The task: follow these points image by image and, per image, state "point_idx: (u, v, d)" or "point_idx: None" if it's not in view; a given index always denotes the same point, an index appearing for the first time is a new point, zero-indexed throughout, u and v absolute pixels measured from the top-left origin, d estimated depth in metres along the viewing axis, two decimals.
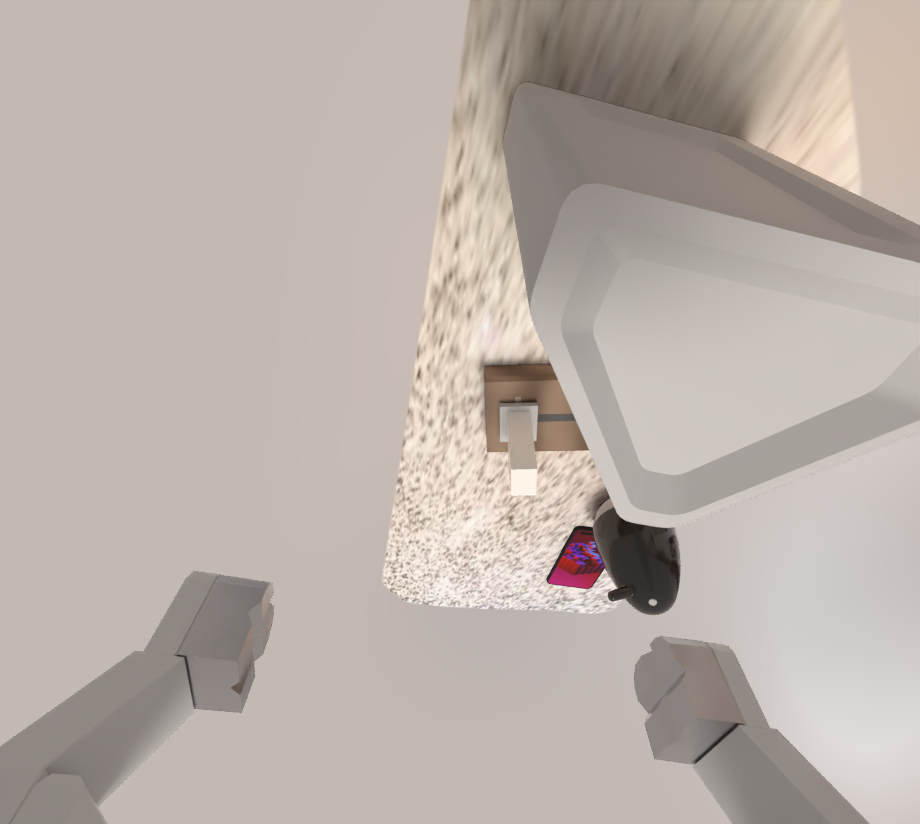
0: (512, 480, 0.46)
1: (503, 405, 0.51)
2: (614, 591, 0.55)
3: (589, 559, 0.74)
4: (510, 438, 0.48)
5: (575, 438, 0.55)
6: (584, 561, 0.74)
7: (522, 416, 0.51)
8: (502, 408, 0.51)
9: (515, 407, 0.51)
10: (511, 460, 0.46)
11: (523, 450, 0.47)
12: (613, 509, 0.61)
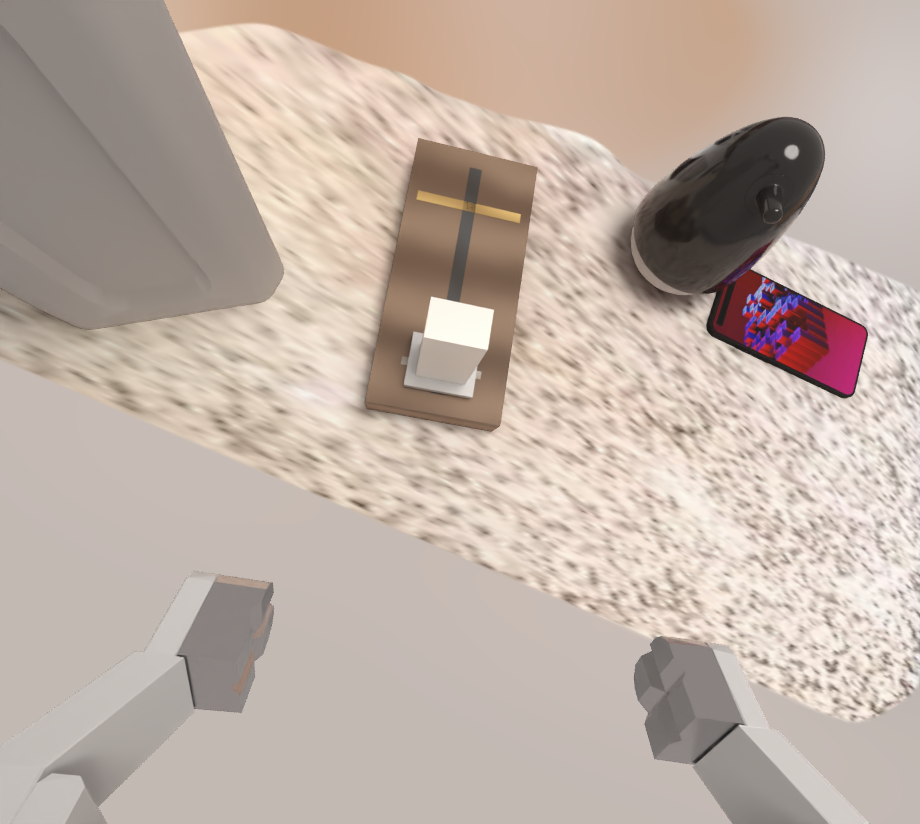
0: (450, 339, 0.27)
1: None
2: (761, 212, 0.30)
3: (787, 320, 0.44)
4: (419, 356, 0.31)
5: (495, 295, 0.38)
6: (792, 329, 0.44)
7: None
8: (407, 381, 0.35)
9: (409, 362, 0.35)
10: (422, 342, 0.28)
11: (424, 331, 0.29)
12: (643, 257, 0.39)
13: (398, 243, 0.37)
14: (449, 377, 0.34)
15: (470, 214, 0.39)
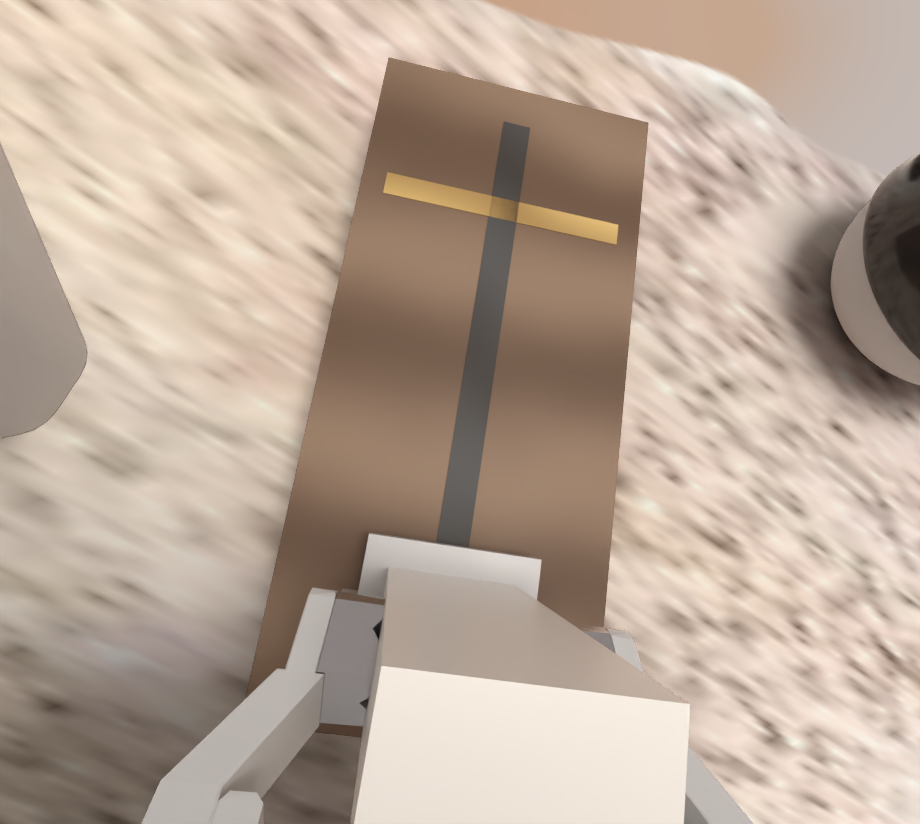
0: None
1: None
2: None
3: None
4: (364, 721, 0.09)
5: (568, 417, 0.16)
6: None
7: None
8: None
9: None
10: None
11: (371, 691, 0.08)
12: (896, 318, 0.17)
13: (338, 297, 0.16)
14: None
15: (506, 226, 0.17)
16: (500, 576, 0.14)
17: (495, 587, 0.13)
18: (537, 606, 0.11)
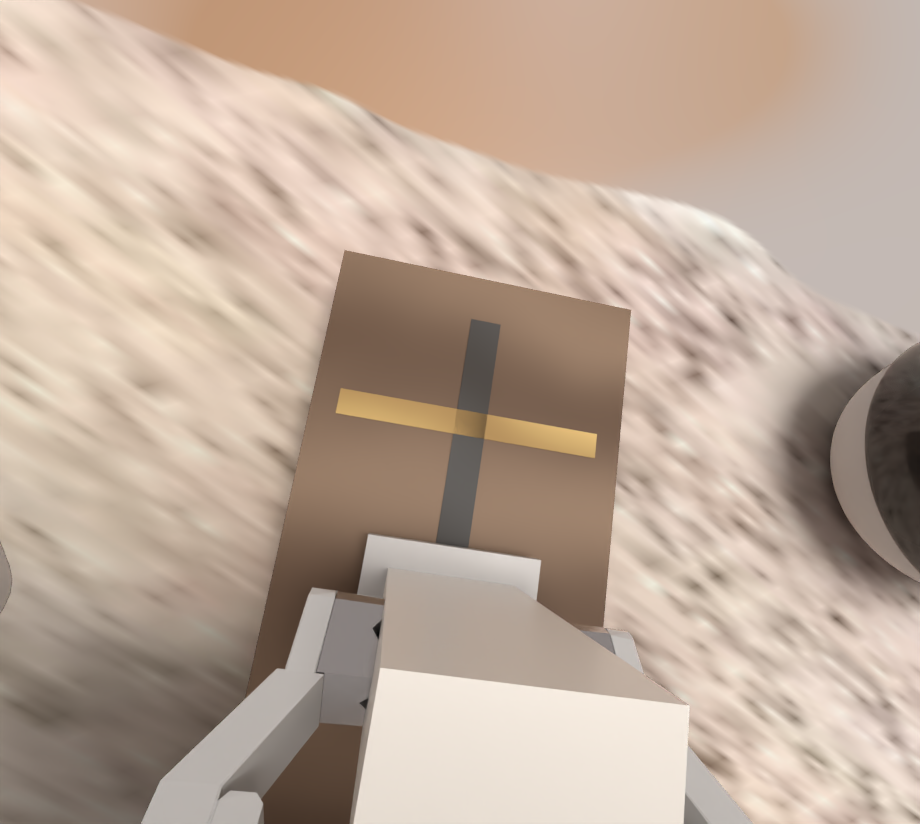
0: None
1: None
2: None
3: None
4: (364, 723, 0.09)
5: None
6: None
7: None
8: None
9: None
10: None
11: (370, 692, 0.08)
12: (902, 539, 0.16)
13: (283, 542, 0.14)
14: None
15: (472, 444, 0.15)
16: (500, 576, 0.14)
17: (495, 588, 0.13)
18: (537, 607, 0.11)
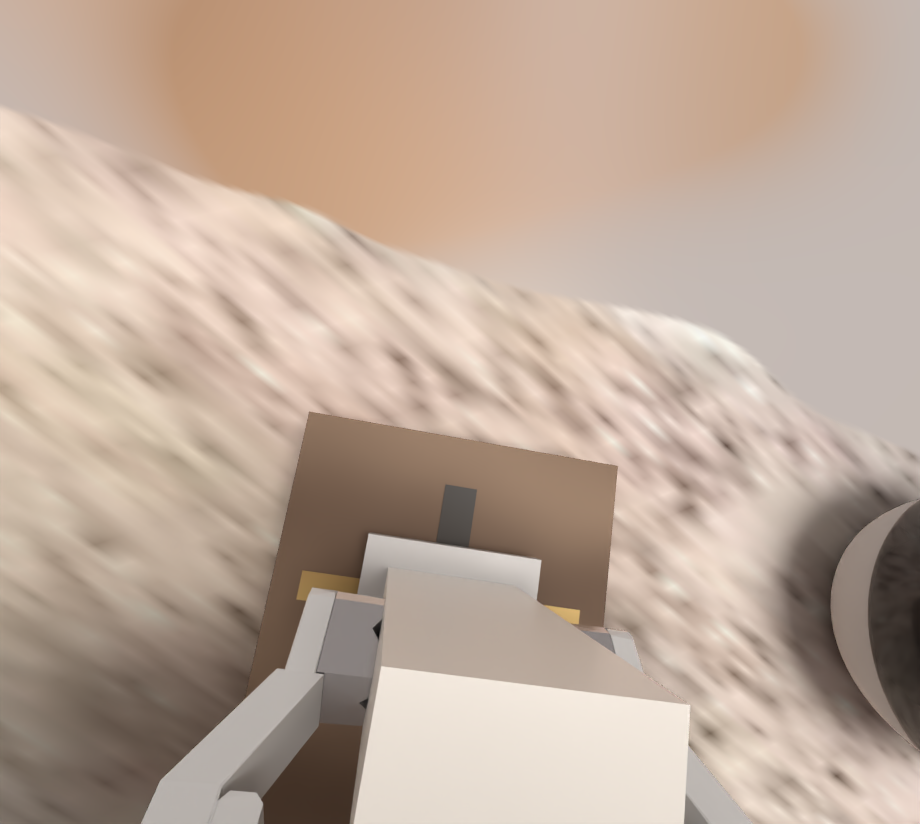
0: None
1: None
2: None
3: None
4: (364, 722, 0.09)
5: None
6: None
7: None
8: None
9: None
10: None
11: (371, 691, 0.08)
12: (908, 726, 0.15)
13: None
14: None
15: None
16: (500, 576, 0.14)
17: (495, 587, 0.13)
18: (537, 606, 0.11)
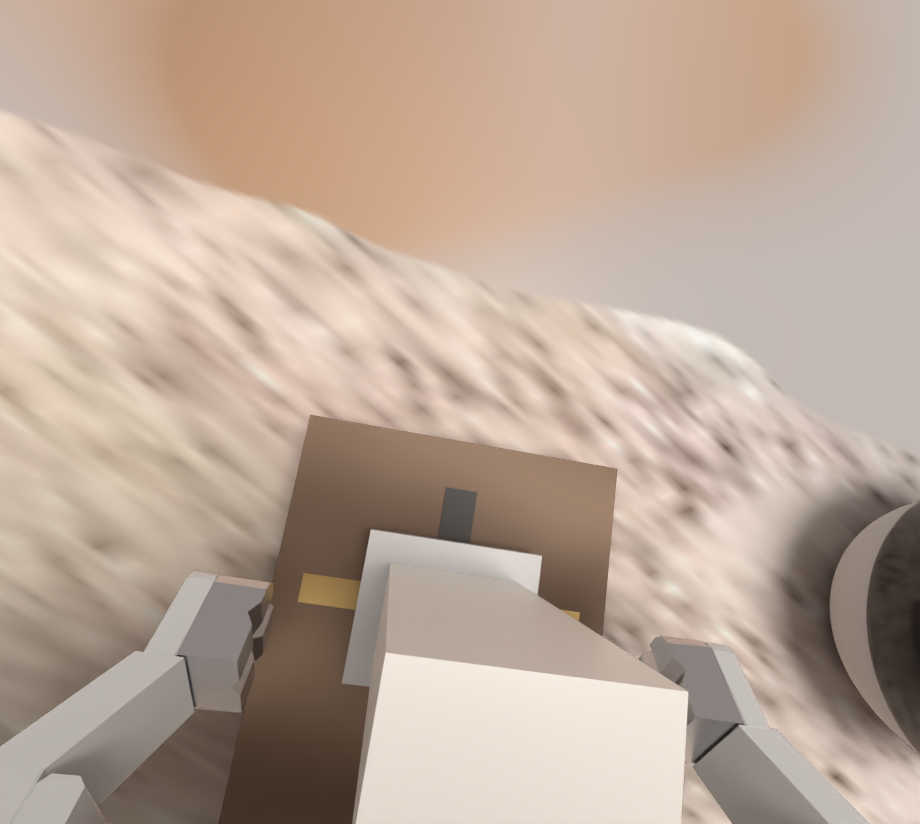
0: None
1: (345, 664, 0.13)
2: None
3: None
4: (367, 713, 0.09)
5: None
6: None
7: None
8: (352, 672, 0.13)
9: (360, 617, 0.13)
10: (353, 821, 0.06)
11: (374, 681, 0.08)
12: (906, 728, 0.15)
13: (238, 753, 0.13)
14: None
15: None
16: (501, 571, 0.14)
17: (496, 582, 0.13)
18: (538, 600, 0.11)
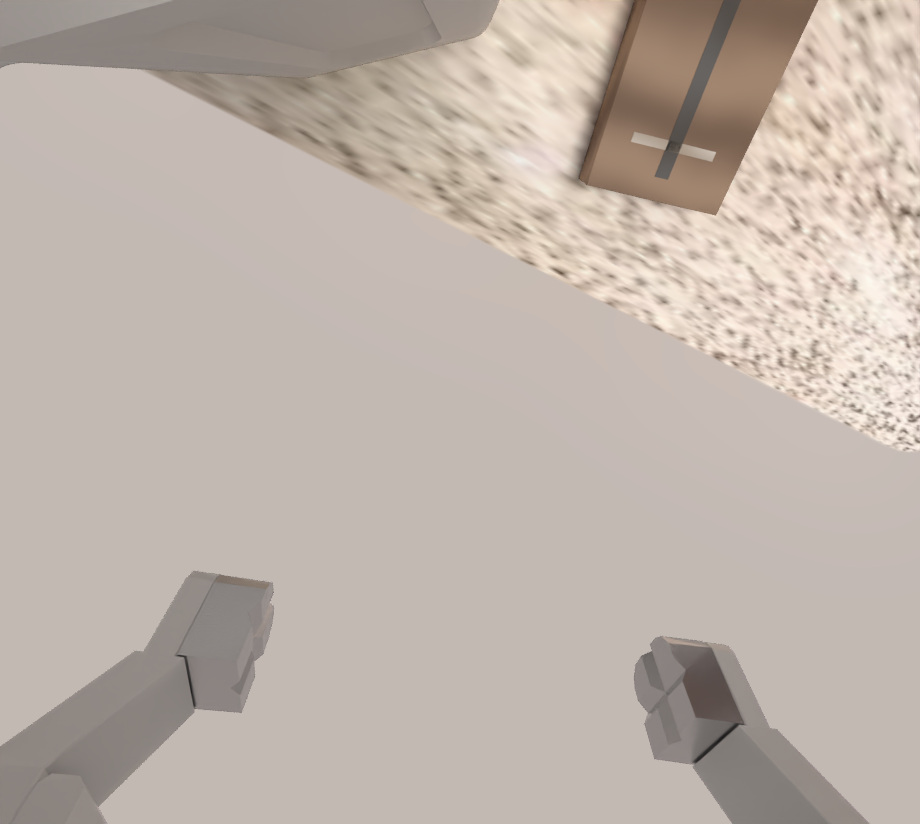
0: None
1: None
2: None
3: None
4: None
5: (767, 42, 0.30)
6: None
7: None
8: None
9: None
10: None
11: None
12: None
13: None
14: None
15: None
16: None
17: None
18: None
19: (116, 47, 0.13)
